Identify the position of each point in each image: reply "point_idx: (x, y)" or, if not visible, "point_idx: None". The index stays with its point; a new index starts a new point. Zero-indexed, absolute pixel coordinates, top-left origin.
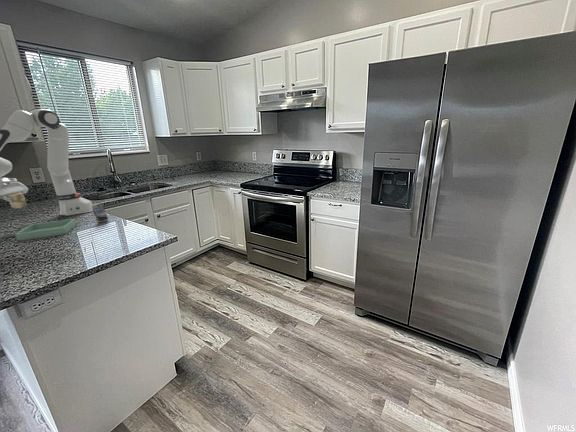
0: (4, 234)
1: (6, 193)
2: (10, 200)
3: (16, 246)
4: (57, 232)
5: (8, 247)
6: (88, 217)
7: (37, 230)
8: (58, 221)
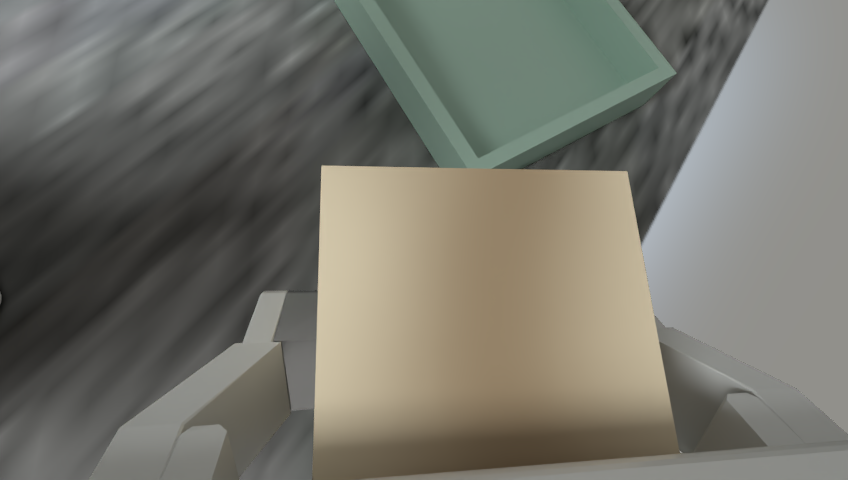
0: None
1: (784, 477)
2: None
3: (696, 30)
4: None
5: (717, 61)
6: (125, 17)
7: (494, 120)
8: (381, 14)
